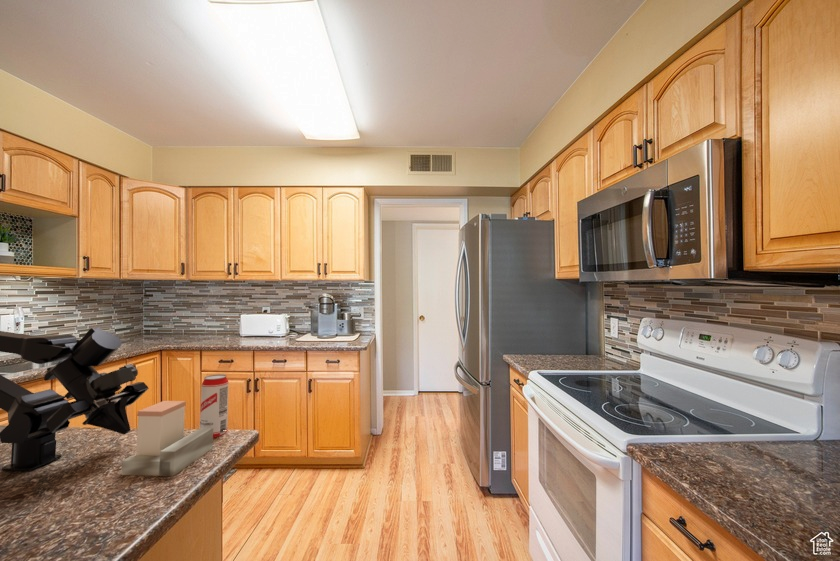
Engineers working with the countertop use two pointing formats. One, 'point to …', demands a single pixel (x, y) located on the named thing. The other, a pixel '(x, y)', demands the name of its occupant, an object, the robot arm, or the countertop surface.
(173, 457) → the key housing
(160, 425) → the push key
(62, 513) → the countertop surface
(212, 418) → the beer can
